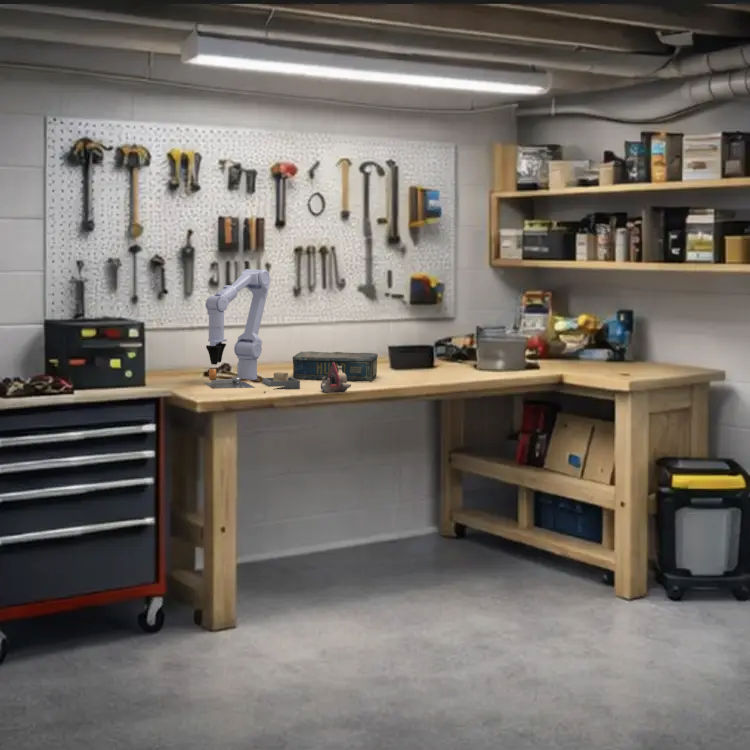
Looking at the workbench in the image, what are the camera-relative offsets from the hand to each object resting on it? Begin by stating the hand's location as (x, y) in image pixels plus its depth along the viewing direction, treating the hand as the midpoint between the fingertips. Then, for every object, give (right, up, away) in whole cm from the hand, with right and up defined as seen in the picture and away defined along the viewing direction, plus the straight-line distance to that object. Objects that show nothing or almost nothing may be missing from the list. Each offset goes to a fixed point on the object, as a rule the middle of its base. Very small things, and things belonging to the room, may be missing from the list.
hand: (216, 363), depth 448 cm
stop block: (+25, -9, 0) cm, 26 cm away
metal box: (+44, -6, +33) cm, 55 cm away
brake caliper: (+45, -11, -10) cm, 48 cm away
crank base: (+5, -9, -6) cm, 12 cm away
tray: (+25, -9, 0) cm, 26 cm away
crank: (+4, -7, -2) cm, 8 cm away
